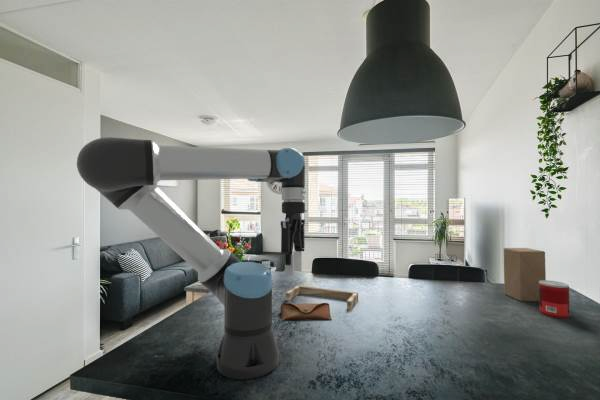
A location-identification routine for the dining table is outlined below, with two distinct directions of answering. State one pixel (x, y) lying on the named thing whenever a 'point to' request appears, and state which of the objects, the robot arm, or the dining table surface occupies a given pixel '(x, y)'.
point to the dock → (324, 294)
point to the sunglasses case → (305, 311)
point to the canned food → (554, 298)
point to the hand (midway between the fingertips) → (293, 272)
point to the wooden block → (523, 273)
